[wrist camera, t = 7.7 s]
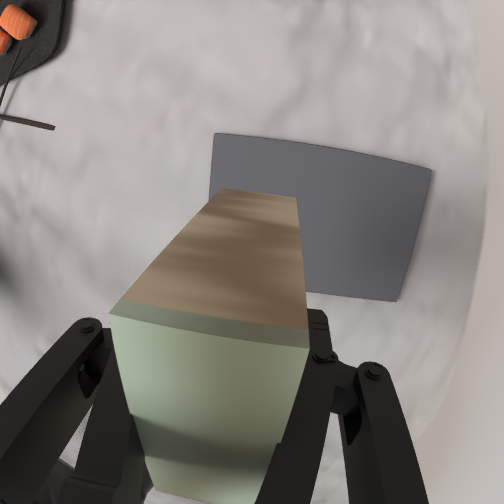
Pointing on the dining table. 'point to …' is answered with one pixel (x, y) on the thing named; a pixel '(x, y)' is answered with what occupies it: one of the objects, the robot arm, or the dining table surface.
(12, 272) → the dining table surface
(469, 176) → the dining table surface
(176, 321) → the oak slab
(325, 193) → the rubber mat
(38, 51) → the sushi plate
